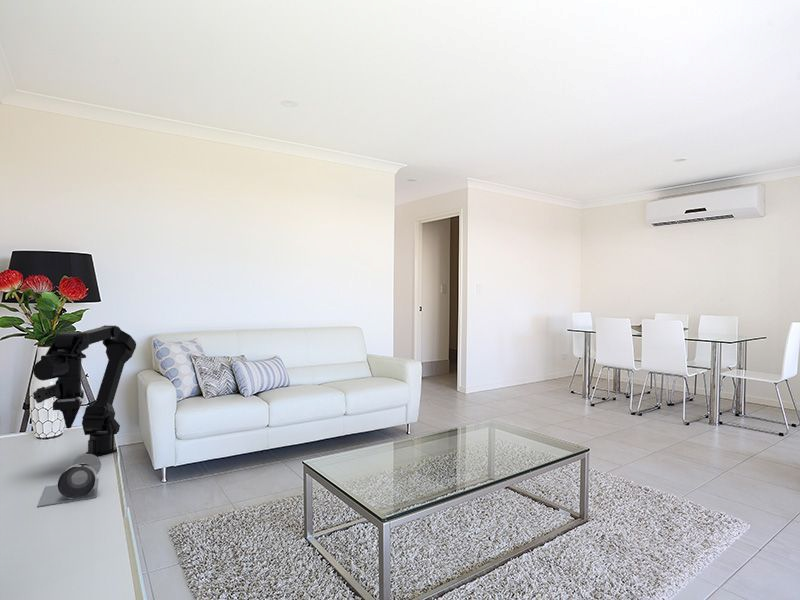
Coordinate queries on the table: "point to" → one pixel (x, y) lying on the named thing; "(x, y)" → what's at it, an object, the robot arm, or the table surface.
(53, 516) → the table surface
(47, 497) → the placemat
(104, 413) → the robot arm
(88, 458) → the wine glass
